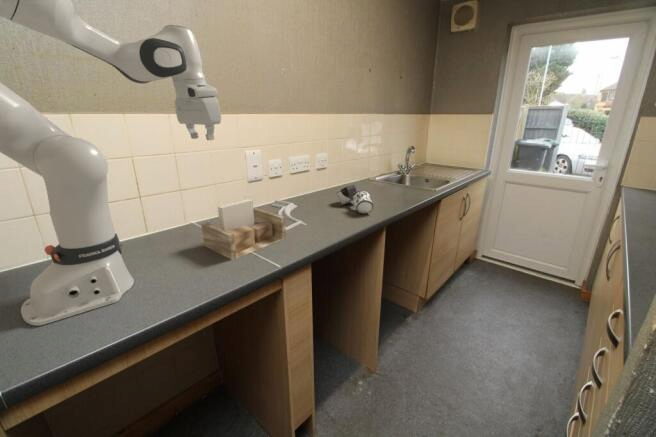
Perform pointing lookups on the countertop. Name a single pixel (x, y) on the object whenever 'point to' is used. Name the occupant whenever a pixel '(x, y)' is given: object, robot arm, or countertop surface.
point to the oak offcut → (243, 238)
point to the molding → (287, 212)
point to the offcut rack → (225, 240)
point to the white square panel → (236, 215)
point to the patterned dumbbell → (356, 199)
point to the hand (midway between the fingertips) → (202, 139)
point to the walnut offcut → (262, 231)
